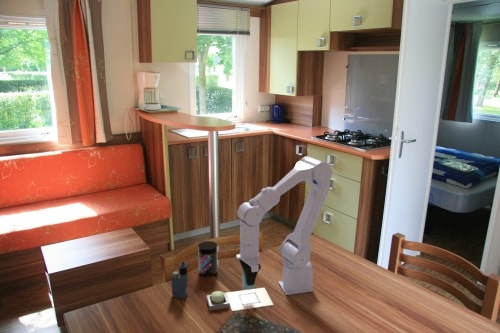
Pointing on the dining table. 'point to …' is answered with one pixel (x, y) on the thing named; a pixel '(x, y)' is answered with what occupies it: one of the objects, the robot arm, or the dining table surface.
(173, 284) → the vaping device
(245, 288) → the teal block
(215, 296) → the button
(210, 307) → the button housing
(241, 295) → the paper
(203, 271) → the supplement container
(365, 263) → the dining table surface
